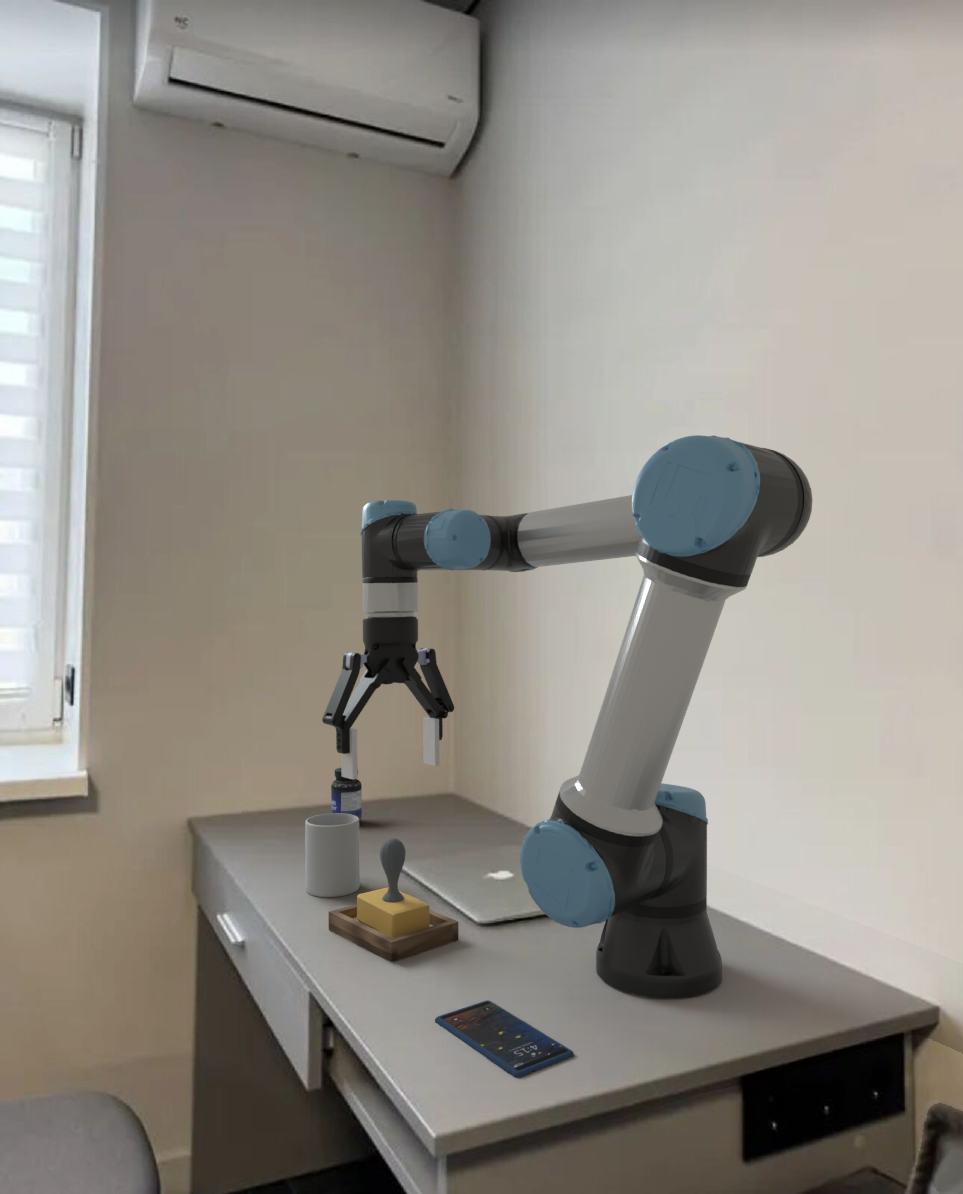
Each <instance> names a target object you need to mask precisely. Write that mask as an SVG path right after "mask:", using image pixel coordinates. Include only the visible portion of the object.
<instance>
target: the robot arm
mask: <svg viewBox="0 0 963 1194" xmlns="http://www.w3.org/2000/svg"><path fill="white" fill-rule="evenodd" d="M807 477H808V476H806V474H805V473H804V470H803V469H802V468H801V467H800V466H799V464H798V463H796V462H795V461H794V460H793V459H791V458H790V457H788V456H787V455H785V453H782V452H779V451H777V450H773V449H771V448H770V449H769V448H767V447H766V448H765V447H760V446H755V445H752V444H748V443H744V442H740V441H737V440H735V439H732V438H730V437H724V436H723V437H722V436H717V435H688V436H683V437H680V438H676V439H674V440H672V441H670V442H668V443H667V444H666V445H664V446H662V447H661V448H659V449H658V450H656V452H654V453H653V454H651V456H650V458H648V460H647V461H646V462H645V464H644V466H642V467H641V470H640V472H639V473H638V475H637V477H636V480H635V483H634V485H633V489H632V494H631V495H629V494H628V495H623V496H618V497H613V498H606V499H601V500H594V501H590V502H582V503H578V504H571V505H565V506H560V507H553V508H548V509H543V510H542V509H541V510H536V511H531V512H526V513H519V514H513V515H502V516H501V515H500V516H499V515H487V514H479V513H477V512H476V511H474V510H471V509H453V508H450V509H445V510H444V511H443V510H441V511H432V512H425V513H423V512H422V513H418V512H417V511H418V509H417V505H416V504H415V503H414V502H412V501H409V500H395V499H393V500H392V499H389V500H388V499H387V500H386V499H385V500H373V501H369V502H367V503H366V504H365V505H364V506H363V507H362V518H361V530H360V536H361V570H362V571H361V575H362V576H361V577H362V612H363V613H365V614H367V616H365V617H364V618H363V619H362V642H363V644H364V651H363V653H362V654H360V653H359V652H347V651H346V652H345V653H344V654H343V658H342V667H341V672H340V674H339V676H338V679H337V680H336V681H337V682H336V684H335V686H334V689H333V691H332V694H331V696H330V699H329V701H328V702H327V703H328V704H327V706H326V708H325V711H324V714H323V716H322V723H323V724H325V725H329V726H331V727H334V728H335V733H336V735H335V736H336V737H335V738H336V745H335V746H336V751H337V753H339V754H341V755H340V756H341V757H340V758H341V759H340V760H341V764H340V765H341V766H340V768H341V772H342V777H345V778H349V779H357V780H359V779H358V778H359V777H358V775H359V769H358V729H357V728H353V727H352V726H354V724H355V722H356V720H357V719H358V717H359V716H360V715H361V713H362V712H363V710H364V708H365V707H366V705H367V704H368V703H369V700H370V699H371V698H372V696H373V694H374V692H375V691H376V690H377V689H379V688H380V687H381V686H382V685H391V684H395V683H396V684H404V685H405V686H406V687H407V688H408V690H409V691H410V693H411V694H412V695H413V697H414V698H415V699H416V700H417V702H418V703H419V705H420V706H421V707H422V708H423V710H424V711H425V713H426V714H427V715H428V716H425V717H422V727H423V728H422V740H423V742H422V743H423V744H422V745H423V747H422V750H423V751H422V753H423V755H422V757H423V759H422V762H423V764H425V765H430V766H433V767H437V766H440V741H442V740H443V734H444V733H443V730H444V729H443V719H447V718H448V716H449V713H453V712H454V710H455V704H454V703H453V700H452V698H451V695H450V693H449V690H448V688H447V685H446V682H445V680H444V678H443V676H442V673H441V670H440V668H439V666H438V664H437V663H438V662H437V654H436V650H435V649H434V648H431V647H430V648H429V647H428V648H427V647H420V648H419V649H417V646H416V645H417V643H418V641H419V619H418V618H417V616H415V613H417V612H418V611H419V591H418V590H419V589H418V588H419V586H418V585H419V584H418V582H419V581H418V571H500V572H502V571H504V572H511V573H523V572H528V571H534V570H535V569H537V568H540V567H549V566H560V565H567V564H568V565H569V564H576V563H584V562H585V563H586V562H595V561H603V560H611V559H620V558H628V557H636V558H637V561H638V562H639V564H640V566H641V569H642V571H643V576H642V580H641V582H640V586H639V589H638V592H637V595H636V599H635V601H634V604H633V608H632V611H631V613H630V617H629V620H628V622H627V627H626V629H625V632H624V634H623V635H624V636H623V639H622V642H621V644H620V648H619V650H618V654H617V657H616V660H615V664H614V666H613V668H612V669H613V670H612V672H611V676H610V677H609V682H608V685H607V687H606V691H605V694H604V696H603V697H604V698H603V701H602V704H601V707H600V709H599V712H598V716H597V719H596V722H595V725H594V728H593V731H592V735H591V737H590V740H589V744H588V747H587V751H586V753H585V756H584V760H583V762H582V766H581V767H580V772H579V775H576V776H574V777H570V778H569V779H567V780H565V781H563V783H561V786H560V788H559V791H558V794H557V797H556V800H555V802H554V807H553V809H552V812H551V815H550V817H549V819H544V820H542V821H540V822H538V823H536V824H535V825H534V826H533V827H532V828H530V830H529V831H528V832H527V833H526V835H525V836H524V838H523V841H522V843H521V848H520V855H519V856H520V857H519V858H520V859H519V861H520V862H519V863H520V871H521V874H522V878H523V881H524V883H525V884H526V886H527V888H528V893H529V895H530V897H531V898H532V900H533V901H534V903H535V905H536V906H537V907H538V908H539V909H540V910H541V911H542V912H543V913H544V914H545V916H547V917H549V918H550V919H551V920H552V921H554V922H555V923H557V924H559V925H561V926H564V927H568V928H574V929H576V928H577V929H579V928H584V927H585V928H586V927H589V926H591V925H597V924H599V925H600V924H602V923H604V922H605V923H604V925H603V928H602V932H601V935H600V939H599V943H598V945H597V947H596V953H595V961H596V962H595V969H596V973H597V975H598V977H599V978H600V979H601V980H602V981H603V982H604V983H605V984H607V985H609V986H610V987H612V988H614V989H617V990H619V991H622V992H624V993H627V994H631V995H635V996H638V997H639V996H640V997H645V998H650V999H664V1000H665V999H667V1000H669V999H670V1000H673V999H674V1000H675V999H686V998H693V997H694V998H695V997H698V996H702V995H704V994H705V995H706V994H708V993H710V992H712V991H714V990H716V989H717V988H718V987H719V986H720V985H721V983H722V981H723V960H722V959H723V958H722V955H721V953H720V951H719V950H718V946H717V941H716V938H715V935H714V932H713V928H712V925H711V922H710V918H709V914H708V908H707V907H708V906H707V905H708V903H707V902H708V899H707V897H708V896H707V895H708V894H707V893H708V892H707V891H708V884H707V883H708V882H707V881H708V872H707V871H708V853H707V851H708V825H709V819H708V817H707V807H706V799H705V797H704V795H703V794H702V793H701V792H700V791H698V790H696V789H694V788H691V787H687V786H681V785H676V784H669V783H663V779H664V777H665V774H666V770H667V768H668V765H669V762H670V759H671V757H672V754H673V752H674V751H673V750H674V748H675V745H676V742H677V740H678V737H679V734H680V731H681V728H682V725H683V723H684V719H685V718H686V717H685V716H686V714H687V711H688V708H689V705H690V703H691V700H692V697H693V694H694V691H695V689H696V685H697V683H698V680H699V677H700V673H701V671H702V668H703V665H704V663H705V659H706V657H707V653H708V651H709V648H710V645H711V643H712V640H713V638H714V634H715V630H716V628H717V626H718V622H719V620H720V618H721V614H722V611H723V608H724V606H725V604H726V600H728V599H729V598H730V597H732V596H734V595H736V594H738V593H741V592H742V591H744V590H746V589H747V587H748V584H749V581H750V578H751V575H752V574H753V570H754V568H755V565H756V563H757V559H758V558H763V557H768V556H772V555H776V554H777V553H779V552H781V551H784V550H785V549H787V548H788V547H790V546H791V545H792V544H794V543H795V542H796V541H797V540H798V539H799V537H800V536H801V535H802V533H803V532H804V531H805V529H806V528H807V526H808V523H809V521H810V519H811V515H812V511H813V510H812V509H813V493H812V488H811V484H810V482H809V480H808V478H807ZM417 663H418V664H419V666H420V667H419V668H420V669H421V672H422V674H423V678H424V680H425V683H426V685H427V686H426V685H425V683H424V681H423V680H422V676H421V674H420V673H419V671H418V670H417V669H416V668H415V666H416V664H417ZM364 667H365V668H366V669H365V671H364V673H362V676H361V677H360V678H359V676H360V675H359V674H360V671H361V669H362V668H364ZM358 678H359V683H358V685H357V686H356V688H355V689H354V687H355V685H356V683H357V680H358ZM353 690H354V691H353Z"/></svg>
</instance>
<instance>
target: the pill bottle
mask: <svg viewBox="0 0 963 1194" xmlns="http://www.w3.org/2000/svg"><path fill="white" fill-rule="evenodd" d="M334 777H335V779H334V781H332V783H331V785H330V786H331V787H330V788H331V789H330V791H331V793H330V796H331V797H330V798H331V799H330V802H331V803H330V804H331V805H330V810H331V811H330V812H331V813H343V814H351V815H355V816H357V817H358V818H359V825H360V824H361V823H362V819H363V817H362V813H363V811H362V809H363V808H362V805H363V804H362V798H363V797H362V795H363V794H362V782H361V781H360V779H349V778H345V777H342V772H341V767H338V768H335V769H334Z"/></svg>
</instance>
